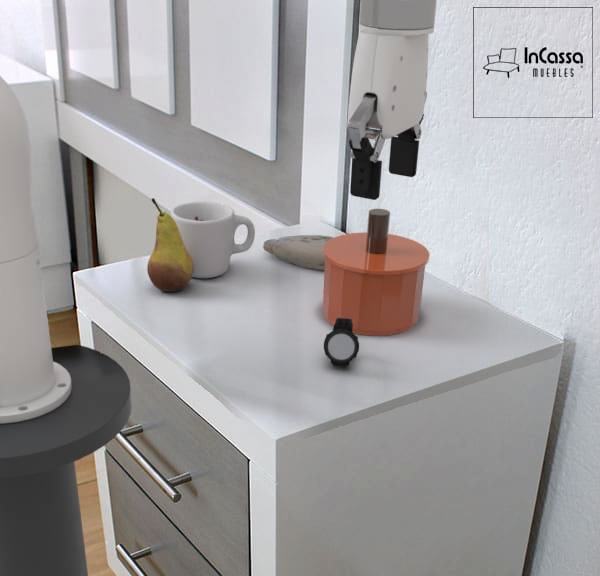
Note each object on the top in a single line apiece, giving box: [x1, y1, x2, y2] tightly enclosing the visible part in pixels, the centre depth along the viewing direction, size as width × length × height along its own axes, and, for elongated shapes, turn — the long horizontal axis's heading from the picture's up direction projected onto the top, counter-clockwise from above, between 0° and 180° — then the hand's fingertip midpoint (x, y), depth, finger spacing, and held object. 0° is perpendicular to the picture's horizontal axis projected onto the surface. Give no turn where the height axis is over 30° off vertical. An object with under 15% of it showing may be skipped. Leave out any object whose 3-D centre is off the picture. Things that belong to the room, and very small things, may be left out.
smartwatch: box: [323, 318, 360, 367], centre depth 95 cm, size 4×5×5 cm
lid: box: [323, 208, 431, 275], centre depth 102 cm, size 12×12×6 cm
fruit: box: [146, 197, 194, 292], centre depth 108 cm, size 6×6×12 cm
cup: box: [170, 201, 256, 279], centre depth 115 cm, size 11×8×8 cm
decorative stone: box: [262, 234, 335, 271], centre depth 119 cm, size 6×16×3 cm, turn 73°
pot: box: [322, 258, 426, 337], centre depth 105 cm, size 11×11×8 cm
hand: (383, 185), depth 99 cm, fingers open, 9 cm apart
